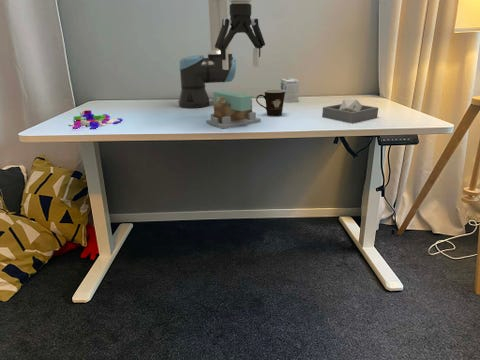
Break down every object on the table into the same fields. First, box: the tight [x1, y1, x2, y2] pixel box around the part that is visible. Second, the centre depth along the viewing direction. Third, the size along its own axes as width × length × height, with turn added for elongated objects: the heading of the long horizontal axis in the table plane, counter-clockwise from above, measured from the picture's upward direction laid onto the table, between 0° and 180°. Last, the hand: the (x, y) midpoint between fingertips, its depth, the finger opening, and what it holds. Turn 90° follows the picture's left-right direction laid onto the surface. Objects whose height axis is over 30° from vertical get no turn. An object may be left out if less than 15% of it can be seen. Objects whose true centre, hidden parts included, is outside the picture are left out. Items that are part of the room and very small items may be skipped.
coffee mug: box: [255, 89, 285, 117], centre depth 155 cm, size 12×9×10 cm
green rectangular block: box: [212, 90, 253, 111], centre depth 141 cm, size 18×5×5 cm, turn 38°
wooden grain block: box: [213, 97, 253, 123], centre depth 142 cm, size 15×4×9 cm, turn 125°
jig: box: [205, 111, 262, 130], centre depth 144 cm, size 18×12×4 cm, turn 125°
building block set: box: [68, 109, 124, 130], centre depth 149 cm, size 25×20×4 cm
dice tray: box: [322, 103, 379, 124], centre depth 149 cm, size 15×16×4 cm
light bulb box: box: [280, 77, 300, 104], centre depth 186 cm, size 11×7×11 cm, turn 11°
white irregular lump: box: [339, 97, 363, 112], centre depth 148 cm, size 8×9×10 cm
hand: (241, 68), depth 133 cm, fingers open, 13 cm apart
